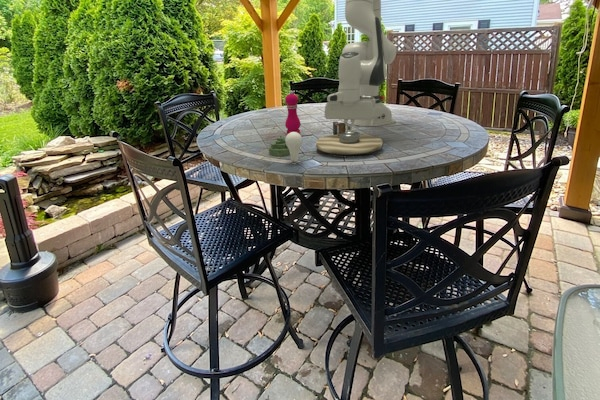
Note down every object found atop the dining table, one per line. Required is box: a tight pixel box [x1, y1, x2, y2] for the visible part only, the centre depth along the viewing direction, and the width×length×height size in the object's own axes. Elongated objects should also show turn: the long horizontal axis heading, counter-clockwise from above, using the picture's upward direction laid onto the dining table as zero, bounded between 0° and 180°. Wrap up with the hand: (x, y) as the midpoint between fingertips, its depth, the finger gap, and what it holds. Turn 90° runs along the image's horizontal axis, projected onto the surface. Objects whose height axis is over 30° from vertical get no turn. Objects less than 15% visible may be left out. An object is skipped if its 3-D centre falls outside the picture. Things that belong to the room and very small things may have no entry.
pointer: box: [332, 121, 339, 135], centre depth 160 cm, size 6×5×8 cm
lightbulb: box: [284, 132, 303, 163], centre depth 133 cm, size 6×6×11 cm
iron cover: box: [339, 130, 361, 144], centre depth 145 cm, size 8×8×4 cm
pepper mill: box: [284, 90, 301, 136], centre depth 173 cm, size 7×7×20 cm
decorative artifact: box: [268, 135, 291, 157], centre depth 146 cm, size 10×7×10 cm
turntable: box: [315, 122, 383, 154], centre depth 145 cm, size 26×26×6 cm
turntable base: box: [324, 152, 373, 158], centre depth 147 cm, size 20×20×2 cm
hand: (349, 130), depth 154 cm, fingers closed
